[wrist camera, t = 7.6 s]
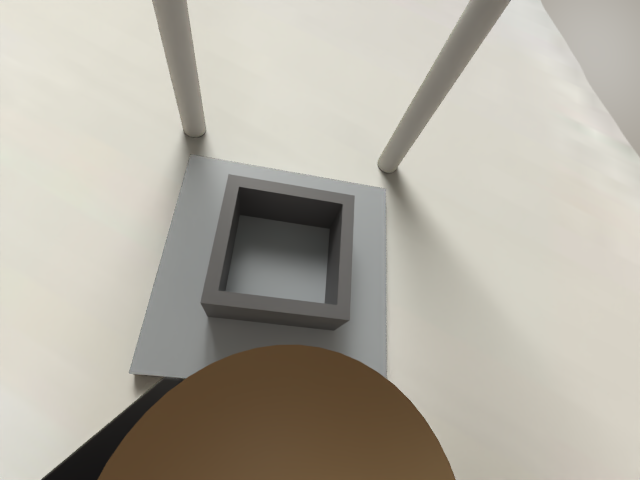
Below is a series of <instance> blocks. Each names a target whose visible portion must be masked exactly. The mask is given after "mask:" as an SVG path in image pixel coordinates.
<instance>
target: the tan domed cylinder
mask: <svg viewBox="0 0 640 480" xmlns="http://www.w3.org/2000/svg"><path fill="white" fill-rule="evenodd" d="M98 480H455V477H454V474H453V471H452V469H451V466H450V463H449V461H448V459H447V457H446V455H445V453H444V451H443V449H442V447H441V445H440V443H439V441H438V439H437V438H436V436H435V434H434V433H433V431H432V430H431V428H430V426H429V425H428V423H427V422H426V420H425V419H424V417H423V416H422V415H421V414H420V412H419V411H418V410H417V409H416V407H415V406H414V405H413V403H412V402H411V401H410V400H409V399H408V398H407V397H406V396H405V395H404V394H403V393H402V392H401V391H400V390H399V389H398V388H397V387H396V386H395V385H394V384H392V383H391V382H390V381H389V380H387V379H386V378H385V377H383V376H382V375H381V374H380V373H378V372H377V371H375V370H374V369H372V368H370V367H368V366H367V365H365V364H363V363H362V362H360V361H358V360H356V359H353V358H351V357H349V356H346V355H344V354H342V353H339V352H335V351H331V350H328V349H324V348H320V347H313V346H306V345H272V346H266V347H259V348H254V349H250V350H246V351H243V352H239V353H236V354H233V355H230V356H228V357H225V358H223V359H221V360H218V361H216V362H214V363H211V364H209V365H208V366H206V367H204V368H203V369H201V370H199V371H197V372H196V373H194V374H192V375H190V376H189V377H187V378H186V379H185V380H183V381H182V382H181V383H179V384H178V385H177V386H175V387H174V388H173V389H171V390H170V391H168V392H167V393H166V394H165V395H164V396H163V397H162V398H161V399H160V400H159V401H157V402H156V403H155V404H154V405H153V406H152V407H151V408H150V409H149V410H148V411H147V412H146V413H145V414H144V415H143V416H142V417H141V419H140V420H139V421H138V422H137V423H136V424H135V425H134V427H133V428H132V429H131V430H130V431H129V432H128V434H127V435H126V436H125V437H124V439H123V440H122V442H121V443H120V445H119V446H118V447H117V449H116V450H115V452H114V453H113V455H112V456H111V457H110V459H109V460H108V462H107V463H106V465H105V467H104V469H103V471H102V472H101V474H100V476H99V478H98Z"/></svg>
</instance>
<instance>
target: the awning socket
mask: <svg viewBox="0 0 640 480" xmlns="http://www.w3.org/2000/svg"><path fill="white" fill-rule="evenodd" d="M510 1H511V0H470V1H469V3H468V5H467V7H466V8H465V10H464V12H463V13H462V15H461V17H460V19H459V20H458V22H457V24H456V26H455V27H454V29H453V31H452V33H451V34H450V36H449V38H448V40H447V41H446V43H445V45H444V47H443V48H442V50H441V52H440V53H439V55H438V57H437V59H436V60H435V62H434V64H433V66H432V67H431V69H430V71H429V73H428V74H427V76H426V78H425V80H424V81H423V83H422V85H421V86H420V88H419V90H418V92H417V93H416V95H415V97H414V99H413V100H412V102H411V104H410V106H409V107H408V109H407V111H406V113H405V114H404V116H403V118H402V120H401V121H400V123H399V125H398V126H397V128H396V130H395V132H394V133H393V135H392V137H391V139H390V140H389V142H388V144H387V146H386V147H385V149H384V151H383V153H382V154H381V156H380V158H379V160H378V166H379V168H380V169H381V170H382V171H384V172H386V173H392V172H394V171H395V170H396V168H397V167H398V165H399V164H400V163H401V161H402V160H403V158H404V157H405V155H406V154H407V152H408V151H409V149H410V148H411V146H412V145H413V143H414V142H415V140H416V139H417V138H418V136H419V135H420V133H421V132H422V130H423V129H424V127H425V126H426V124H427V123H428V121H429V120H430V118H431V117H432V115H433V114H434V113H435V111H436V110H437V108H438V107H439V105H440V104H441V102H442V101H443V99H444V98H445V96H446V95H447V93H448V92H449V90H450V89H451V87H452V86H453V85H454V83H455V82H456V80H457V79H458V77H459V76H460V74H461V73H462V71H463V70H464V68H465V67H466V65H467V64H468V62H469V61H470V60H471V58H472V57H473V55H474V54H475V52H476V51H477V49H478V48H479V46H480V45H481V43H482V42H483V40H484V39H485V37H486V36H487V35H488V33H489V32H490V30H491V29H492V27H493V26H494V24H495V23H496V21H497V20H498V18H499V17H500V15H501V14H502V12H503V11H504V10H505V8H506V7H507V5H508V4H509V2H510ZM152 2H153V6H154V10H155V14H156V18H157V22H158V27H159V31H160V35H161V39H162V43H163V47H164V51H165V56H166V60H167V64H168V68H169V72H170V76H171V81H172V85H173V89H174V93H175V97H176V101H177V105H178V110H179V114H180V118H181V122H182V126H183V130H184V132H185V134H187V135H188V136H190V137H199V136H202V135H203V134H204V133H205V131H206V125H205V119H204V112H203V106H202V99H201V93H200V86H199V79H198V73H197V66H196V60H195V53H194V47H193V40H192V34H191V27H190V21H189V14H188V8H187V1H186V0H152ZM272 345H306V346H313V347H320V348H324V349H328V350H331V351H335V352H339V353H342V354H344V355H346V356H349V357H351V358H353V359H356V360H358V361H360V362H362V363H363V364H365V365H367V366H368V367H370V368H372V369H374V370H375V371H377V372H378V373H380V374H381V375H382V376H383V377H385V378H386V379H387V371H386V189H385V188H380V187H374V186H368V185H363V184H357V183H351V182H346V181H340V180H334V179H329V178H323V177H317V176H312V175H306V174H300V173H295V172H289V171H283V170H278V169H272V168H266V167H260V166H255V165H249V164H243V163H238V162H232V161H226V160H221V159H215V158H209V157H204V156H198V155H192V154H190V158H189V161H188V165H187V168H186V172H185V175H184V179H183V182H182V186H181V190H180V193H179V197H178V200H177V204H176V207H175V211H174V214H173V218H172V222H171V225H170V229H169V232H168V236H167V239H166V243H165V246H164V250H163V253H162V257H161V261H160V264H159V268H158V271H157V275H156V278H155V282H154V285H153V289H152V292H151V296H150V300H149V303H148V307H147V310H146V314H145V317H144V321H143V324H142V328H141V332H140V335H139V339H138V342H137V346H136V349H135V353H134V356H133V360H132V363H131V367H130V371H129V373H130V374H138V375H150V376H162V377H174V378H185V379H186V378H187V377H189V376H190V375H192V374H194V373H196V372H197V371H199V370H201V369H203V368H204V367H206V366H208V365H209V364H211V363H214V362H216V361H218V360H221V359H223V358H225V357H228V356H230V355H233V354H236V353H239V352H243V351H246V350H250V349H254V348H259V347H266V346H272Z"/></svg>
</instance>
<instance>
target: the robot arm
mask: <svg viewBox="0 0 640 480" xmlns="http://www.w3.org/2000/svg"><path fill="white" fill-rule="evenodd" d="M181 382H182V380H181V379H178V378H170V377H165V378H163V379H161V380H160V381H159V382H158V383H157V384H155V385H154V386H153V387H152V388H151V389H149V390H148V391H147V392H146V393H145V394H143V395H142V396H141V397H140V398H139V399H137V400H136V401H135V402H134V403H132V404H131V405H130V406H129V407H128V408H126V409H125V410H124V411H123V412H122V413H120V414H119V415H118V416H117V417H116V418H114V419H113V420H112V421H111V422H110V423H108V424H107V425H106V426H105V427H104V428H102V429H101V430H100V431H99V432H98V433H96V434H95V435H94V436H93V437H92V438H90V439H89V440H88V441H87V442H86V443H84V444H83V445H82V446H81V447H80V448H78V449H77V450H76V451H75V452H74V453H72V454H71V455H70V456H69V457H68V458H66V459H65V460H64V461H63V462H62V463H60V464H59V465H58V466H57V467H56V468H54V469H53V470H52V471H51V472H50V473H48V474H47V475H46V476H45V477H43V478H42V479H41V480H98V478H99V476H100V474H101V472H102V471H103V469H104V467H105V465H106V463H107V462H108V460H109V459H110V457H111V456H112V455H113V453H114V452H115V450H116V449H117V447H118V446H119V445H120V443H121V442H122V440H123V439H124V437H125V436H126V435H127V434H128V432H129V431H130V430H131V429H132V428H133V427H134V425H135V424H136V423H137V422H138V421H139V420H140V419H141V417H142V416H143V415H144V414H145V413H146V412H147V411H148V410H149V409H150V408H151V407H152V406H153V405H154V404H155V403H156V402H157V401H159V400H160V399H161V398H162V397H163V396H164V395H165V394H166V393H167V392H168V391H170V390H171V389H173V388H174V387H175V386H177V385H178V384H179V383H181Z"/></svg>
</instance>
